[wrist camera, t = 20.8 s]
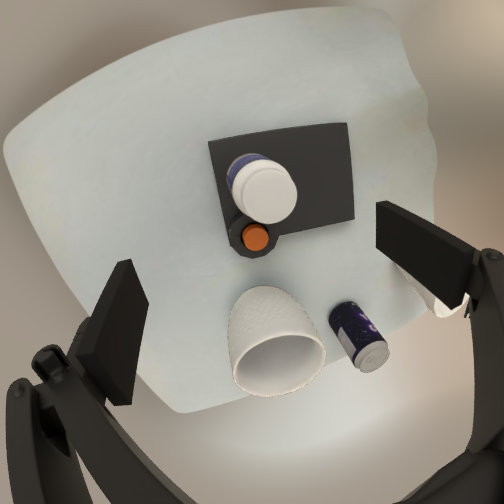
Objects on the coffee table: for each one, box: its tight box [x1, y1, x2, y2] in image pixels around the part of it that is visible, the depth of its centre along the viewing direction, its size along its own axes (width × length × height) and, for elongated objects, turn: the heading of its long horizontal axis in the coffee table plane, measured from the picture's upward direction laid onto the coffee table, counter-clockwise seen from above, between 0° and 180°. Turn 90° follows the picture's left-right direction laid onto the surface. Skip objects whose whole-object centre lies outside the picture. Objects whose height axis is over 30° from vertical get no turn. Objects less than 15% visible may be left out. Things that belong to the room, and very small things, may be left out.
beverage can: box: [329, 301, 389, 373], centre depth 40 cm, size 6×6×12 cm
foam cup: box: [394, 262, 469, 318], centre depth 36 cm, size 10×9×13 cm
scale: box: [208, 123, 355, 259], centre depth 33 cm, size 17×14×4 cm
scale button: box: [242, 224, 269, 251], centre depth 33 cm, size 3×3×2 cm
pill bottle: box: [227, 153, 297, 224], centre depth 27 cm, size 6×6×10 cm
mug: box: [228, 286, 326, 397], centre depth 36 cm, size 15×11×13 cm
